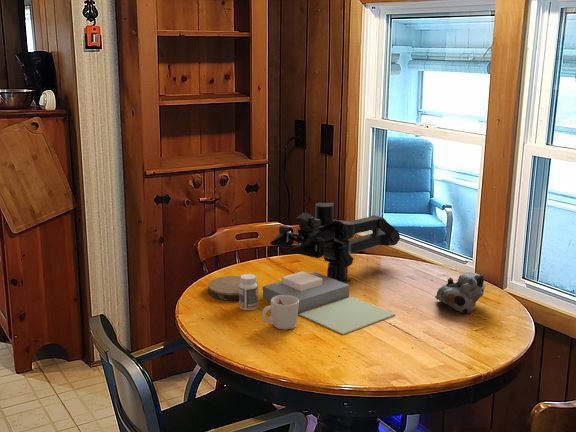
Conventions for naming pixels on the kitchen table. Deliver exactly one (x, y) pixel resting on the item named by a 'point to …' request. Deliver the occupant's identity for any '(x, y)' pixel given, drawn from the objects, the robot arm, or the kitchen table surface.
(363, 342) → the kitchen table surface
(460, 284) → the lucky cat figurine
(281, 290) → the gray rectangular block
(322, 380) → the kitchen table surface
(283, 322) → the cup
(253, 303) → the pill bottle
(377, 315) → the rubber mat
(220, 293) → the grey brown round disc
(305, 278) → the ceramic tile
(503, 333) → the kitchen table surface
